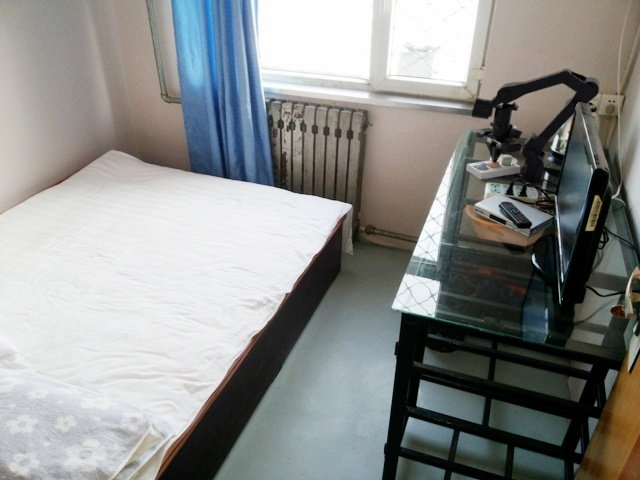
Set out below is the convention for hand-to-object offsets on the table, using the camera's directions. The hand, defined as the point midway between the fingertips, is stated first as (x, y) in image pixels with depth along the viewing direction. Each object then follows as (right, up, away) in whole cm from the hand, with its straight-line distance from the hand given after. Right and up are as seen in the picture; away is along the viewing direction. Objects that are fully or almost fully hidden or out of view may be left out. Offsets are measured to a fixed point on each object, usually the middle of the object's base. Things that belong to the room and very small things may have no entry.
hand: (494, 162), depth 190 cm
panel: (0, -3, +2) cm, 4 cm away
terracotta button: (0, -2, +2) cm, 3 cm away
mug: (+10, +8, +22) cm, 25 cm away
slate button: (-5, -3, 0) cm, 6 cm away
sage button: (+5, 0, +2) cm, 6 cm away
